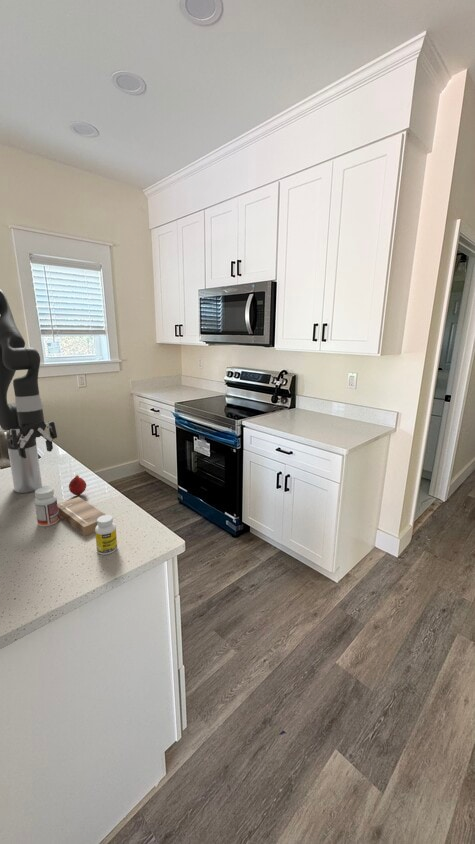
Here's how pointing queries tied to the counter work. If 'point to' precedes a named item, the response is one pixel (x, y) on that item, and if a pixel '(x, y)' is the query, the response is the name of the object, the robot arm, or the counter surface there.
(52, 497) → the pill bottle
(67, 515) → the brown banded box
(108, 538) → the supplement bottle
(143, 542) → the counter surface
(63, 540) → the counter surface
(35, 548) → the counter surface
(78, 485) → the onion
